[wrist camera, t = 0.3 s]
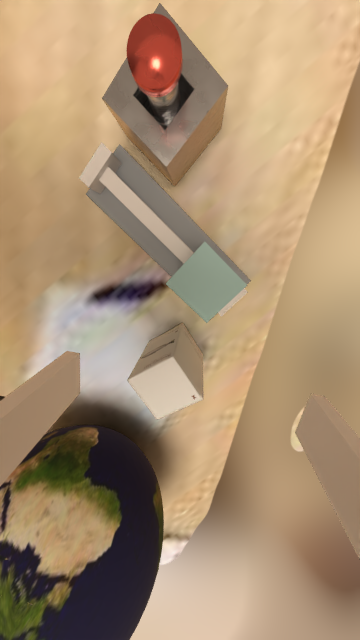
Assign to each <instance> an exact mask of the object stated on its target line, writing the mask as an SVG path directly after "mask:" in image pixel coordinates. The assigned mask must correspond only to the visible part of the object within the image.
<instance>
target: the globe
mask: <svg viewBox="0 0 360 640" xmlns="http://www.w3.org/2000/svg"><path fill="white" fill-rule="evenodd" d="M163 525H164V520H163V505H162V498H161V493H160V488H159V484H158V481H157V478H156V475H155V473H154V471H153V468H152V466H151V464H150V463H149V461H148V459H147V458H146V456H145V455H144V453H143V452H142V451H141V450H140V448H139V447H138V446H137V445H136V444H135V443H134V442H132V441H131V440H130V439H129V438H127V437H126V436H124V435H123V434H121V433H119V432H117V431H115V430H112V429H109V428H106V427H102V426H96V425H78V426H71V427H66V428H62V429H58V430H55V431H52V432H50V433H47V434H45V435H44V436H43V437H42V438H41V439H40V440H39V442H38V443H37V444H36V445H35V446H34V447H33V449H32V450H31V451H30V452H29V453H28V454H27V456H26V457H25V458H24V459H23V460H22V462H21V463H20V464H19V465H18V466H17V467H16V469H15V470H14V471H13V472H12V473H11V474H10V476H9V477H8V478H7V479H6V480H5V481H4V483H3V484H2V485H1V486H0V640H130V638H131V636H132V634H133V632H134V631H135V629H136V627H137V625H138V623H139V621H140V619H141V616H142V614H143V612H144V610H145V608H146V605H147V603H148V600H149V598H150V595H151V592H152V589H153V586H154V582H155V579H156V575H157V572H158V569H159V568H158V567H159V563H160V557H161V551H162V543H163Z"/></svg>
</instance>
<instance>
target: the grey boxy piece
mask: <svg viewBox="0 0 360 640" xmlns="http://www.w3.org/2000/svg"><path fill="white" fill-rule="evenodd" d="M154 13H156V14H161V15H164V16H165V17H167V18H168V19H170V20H171V22H172V23H173V24H174V25H175V27H176V29H177V31H178V33H179V36H180V40H181V48H182V59H183V66H182V72H181V76H180V79H179V81H178V83H179V90H180V98H181V109H180V110H179V112H178V113H177V114H176V116H175V117H174V119H173V120H172V121H171V123H170V124H169V125H162V124H160V123H159V122H158V121H157V120H156V118H155V116H154V113H153V110H152V108H151V105H150V102H149V99H148V96H147V95H146V94H145V93H143V92H142V91H141V90H140V89H139V87H138V86H137V84H136V82H135V80H134V78H133V75H132V73H131V70H130V67H129V64H128V60H127V58H126V60H125V61H124V63H123V65H122V66H121V68H120V70H119V71H118V73H117V75H116V76H115V78H114V79H113V81H112V83H111V84H110V86H109V88H108V89H107V91H106V93H105V94H104V96H103V98H102V99H103V100H104V102H105V103H106V105H107V107H108V108H109V110H110V111H111V113H112V114H113V116H114V117H115V119H116V120H117V122H118V123H119V125H120V126H121V128H122V129H123V131H124V132H125V134H126V135H127V137H128V138H129V139H130V140H131V141H132V142H133V143H134V144H135V145H136V146H137V147H138V148H139V149H140V150H141V152H142V153H143V154H144V155H145V156H146V157H147V158H148V159H149V160H150V161H151V162H152V163H153V164H154V165H155V166H156V167H157V168H158V169H159V170H160V172H161V173H162V174H163V175H164V176H165V177H166V178H167V179H168V180H169V181H170V182H171V183H172V184H173V185H174V186H176V184H177V183H178V182H179V181H180V179H181V178H182V177H183V176H184V174H185V173H186V172H187V171H188V169H189V168H190V167H191V166H192V164H193V163H194V162H195V161H196V159H197V158H198V157H199V156H200V154H201V153H202V152H203V151H204V149H205V148H206V147H207V146H208V144H209V143H210V142H211V141H212V139H213V138H214V137H215V136H216V134H217V133H218V132H219V131H220V129H221V125H222V119H223V114H224V108H225V102H226V96H227V90H228V85H227V84H226V83H225V81H224V80H223V79H222V78H221V77H220V75H219V74H218V73H217V72H216V70H215V69H214V68H213V67H212V66H211V64H210V63H209V62H208V61H207V60H206V58H205V57H204V56H203V55H202V53H201V52H200V51H199V50H198V49H197V47H196V46H195V45H194V44H193V43H192V41H191V40H190V39H189V38H188V36H187V35H186V34H185V33H184V32H183V30H182V29H181V28H180V27H179V26H178V24H177V23H176V22H175V21H174V19H173V18H172V17H171V16H170V15H169V13H168V12H167V11H166V10H165V9H164V7H163V6H162V5H161V4H160V3H159V5H158V7H157V8H156V10H155V11H154ZM154 13H153V14H154Z"/></svg>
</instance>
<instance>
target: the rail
mask: <svg viewBox="0 0 360 640" xmlns="http://www.w3.org/2000/svg"><path fill="white" fill-rule="evenodd" d="M79 179H80V180H81V181H82V182H83V183H84V184H85V185H86V186H87V187H88V188H90V189H89V190H88V192H87V193H86V195H87V196H88V197H89V198H90V199H91V200H92V201H93V202H94V203H95V204H96V205H97V206H98V207H99V208H101V209H102V210H103V211H104V212H105V213H106V214H107V215H108V216H109V217H110V218H111V219H112V220H113V221H114V222H115V223H116V224H117V225H118V226H119V227H120V228H121V229H122V230H123V231H124V232H125V233H126V234H128V235H129V236H130V237H131V238H132V239H133V240H134V241H135V242H136V243H137V244H138V245H139V246H140V247H141V248H142V249H143V250H144V251H145V252H146V253H147V254H148V255H149V256H150V257H151V258H152V259H153V260H155V261H156V262H157V263H158V264H159V265H160V266H161V267H162V268H163V269H164V270H165V271H166V272H167V273H168V274H169V275H170V276H171V277H172V276H173V275H174V274H175V273H176V272H177V271H178V270H179V269H180V268H181V266H182V265H183V264H184V263H185V262H186V261H187V260H188V259H189V258H190V257H191V256H192V255H193V253H194V252H195V251H196V250H197V249H198V248H199V247H200V246H201V245H202V244H203V243H204V242H206V243H207V244H208V245H209V246H210V247H211V248H212V249H213V250H214V251H215V252H216V253H217V254H218V255H219V257H220V258H221V259H222V260H223V261H224V262H225V263H226V264H227V265H228V266H229V267H230V268H231V269H232V270H233V271H234V272H235V273H236V274H237V275H238V276H239V277H240V278H241V279H242V280H243V281H244V282H245V283H246V284H248V283H249V282H250V281H251V280H250V279H249V278H248V277H247V276H246V275H245V274H244V273H243V272H242V271H241V270H240V269H239V268H238V267H237V266H236V265H235V264H234V263H233V262H232V261H231V260H230V258H229V257H228V256H227V255H226V254H225V253H224V252H223V251H222V250H221V249H220V248H219V247H218V246H217V245H216V244H215V243H214V242H213V241H212V240H211V239H210V238H209V237H208V236H207V235H206V234H205V233H204V231H203V230H202V229H201V228H200V227H199V226H198V225H197V224H196V223H195V222H194V221H193V220H192V219H191V218H190V217H189V216H188V215H187V214H186V213H185V212H184V211H183V210H182V209H181V208H180V207H179V206H178V204H177V203H176V202H175V201H174V200H173V199H172V198H171V197H170V196H169V195H168V194H167V193H166V192H165V191H164V190H163V189H162V188H161V187H160V186H159V185H158V184H157V183H156V182H155V181H154V180H153V178H152V177H151V176H150V175H149V174H148V173H147V172H146V171H145V170H144V169H143V168H142V167H141V166H140V165H139V164H138V163H137V162H136V161H135V160H134V159H133V158H132V157H131V156H130V155H129V154H128V153H127V151H126V150H125V149H124V148H123V147H122V146H121V145H120V144H119V146H118V147H117V149H116V150H115V152H114V153H112V152H111V151H110V150H109V149H108V148H107V147H106V146H105V145H104V144H103V143H102V142H101V144H100V145H99V147H98V149H97V150H96V152H95V153H94V155H93V156H92V158H91V159H90V161H89V163H88V164H87V166H86V167H85V169H84V170H83V172H82V174H81V175H80V177H79ZM247 293H248V292H247V291H246V290H245V289H243V290H242V291H241V292H240V293H239V294H238V295H236V296H235V297H234V298H233V299H232V300H231V301H230V302H229V303H228V304H227V305H226V306H225V307H224V308H222V309H221V310H220V311H219V312H218V314H219V315H220V316H223V315H224V314H225V313H226V312H227V311H228V310H229V309H230V308H231V307H232V306H233V305H235V304H236V303H237V302H238V301H239V300H240V299H241V298H242V297H243V296H244V295H245V294H247Z"/></svg>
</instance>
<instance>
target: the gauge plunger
mask: <svg viewBox="0 0 360 640" xmlns="http://www.w3.org/2000/svg"><path fill="white" fill-rule="evenodd" d="M127 60H128V64H129V67H130V70H131V73H132V75H133V78H134V80H135V82H136V84H137V86H138V87H139V89H140V90H141V91H142V92H143V93H145V94H146V95H147V96H148V99H149V102H150V105H151V108H152V110H153V113H154V116H155V118H156V120H157V121H158V122H159V123H160V124H162V125H169V124H170V123H171V121H172V120H173V119H174V117H175V116H176V114H177V113H178V112H179V110H180V109H181V98H180V90H179V83H178V81H179V79H180V76H181V72H182V66H183V59H182V48H181V40H180V36H179V33H178V31H177V29H176V27H175V25H174V24H173V23H172V22H171V20H170V19H168V18H167V17H165V16H164V15H161V14H156V13H154V14H148V15H146V16H144V17H142V18H141V19H140V20H138V22H137V23H136V24H135V25H134V27H133V28H132V30H131V32H130V35H129V38H128V43H127Z"/></svg>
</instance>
